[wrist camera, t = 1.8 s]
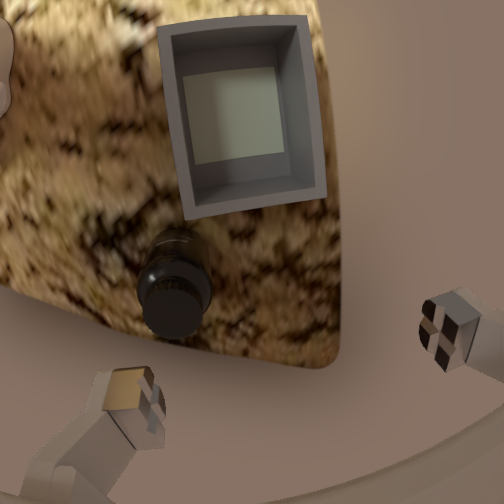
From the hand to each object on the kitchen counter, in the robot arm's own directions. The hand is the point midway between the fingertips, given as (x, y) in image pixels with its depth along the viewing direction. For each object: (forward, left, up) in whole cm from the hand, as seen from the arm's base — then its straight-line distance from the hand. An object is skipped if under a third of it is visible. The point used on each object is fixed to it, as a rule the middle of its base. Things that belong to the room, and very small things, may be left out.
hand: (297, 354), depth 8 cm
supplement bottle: (-9, -2, -27) cm, 28 cm away
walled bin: (+6, +4, -27) cm, 28 cm away
